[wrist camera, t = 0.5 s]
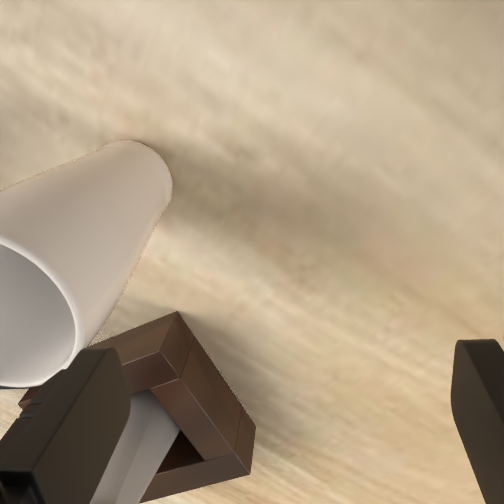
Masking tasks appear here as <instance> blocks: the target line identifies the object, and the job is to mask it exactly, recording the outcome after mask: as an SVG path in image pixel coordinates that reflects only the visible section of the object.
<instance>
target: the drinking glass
mask: <svg viewBox="0 0 504 504" xmlns="http://www.w3.org/2000/svg"><path fill="white" fill-rule="evenodd" d="M172 190H173V184H172V178H171V174H170V171H169V169H168V167H167V165H166V163H165V162H164V160H163V159H162V158H161V157H160V156H159V155H158V153H156V152H155V151H154V150H153V149H151V148H150V147H148V146H146V145H144V144H142V143H139V142H136V141H131V140H118V141H113V142H110V143H108V144H106V145H104V146H102V147H101V148H99V149H97V150H96V151H94V152H91V153H89V154H87V155H84V156H82V157H79V158H77V159H75V160H72V161H70V162H67V163H65V164H62V165H60V166H57V167H55V168H52V169H50V170H47V171H45V172H42V173H40V174H37V175H35V176H32V177H30V178H27V179H24V180H22V181H20V182H17V183H15V184H12V185H10V186H8V187H6V188H3V189H1V190H0V386H7V387H33V386H39V385H42V384H43V383H44V382H46V381H47V380H48V379H50V378H51V377H52V376H53V375H55V374H56V373H57V372H58V371H60V370H61V369H67V368H68V366H69V365H70V364H71V362H72V361H73V359H74V358H75V357H76V355H77V354H78V352H79V351H80V350H81V349H83V348H87V347H88V346H89V344H90V343H91V342H92V340H93V339H94V338H95V336H96V335H97V334H98V332H99V331H100V329H101V328H102V326H103V325H104V323H105V322H106V320H107V319H108V317H109V316H110V314H111V313H112V311H113V309H114V308H115V306H116V304H117V303H118V301H119V299H120V297H121V295H122V294H123V292H124V290H125V288H126V286H127V284H128V282H129V280H130V278H131V276H132V274H133V272H134V270H135V268H136V265H137V263H138V261H139V259H140V257H141V255H142V253H143V251H144V249H145V247H146V245H147V243H148V241H149V239H150V236H151V234H152V232H153V230H154V228H155V226H156V224H157V222H158V220H159V218H160V217H161V215H162V214H163V212H164V211H165V210H166V208H167V206H168V205H169V202H170V200H171V196H172Z"/></svg>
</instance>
